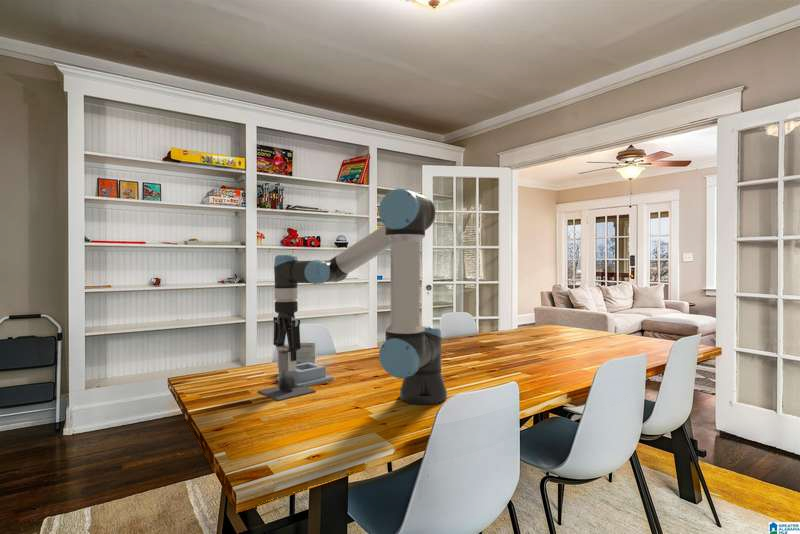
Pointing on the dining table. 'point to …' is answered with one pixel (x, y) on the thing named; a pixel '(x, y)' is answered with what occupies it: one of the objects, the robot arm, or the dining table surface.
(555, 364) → the dining table surface
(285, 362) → the grey capped cylinder
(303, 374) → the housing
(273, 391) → the mat
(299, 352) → the ink box
